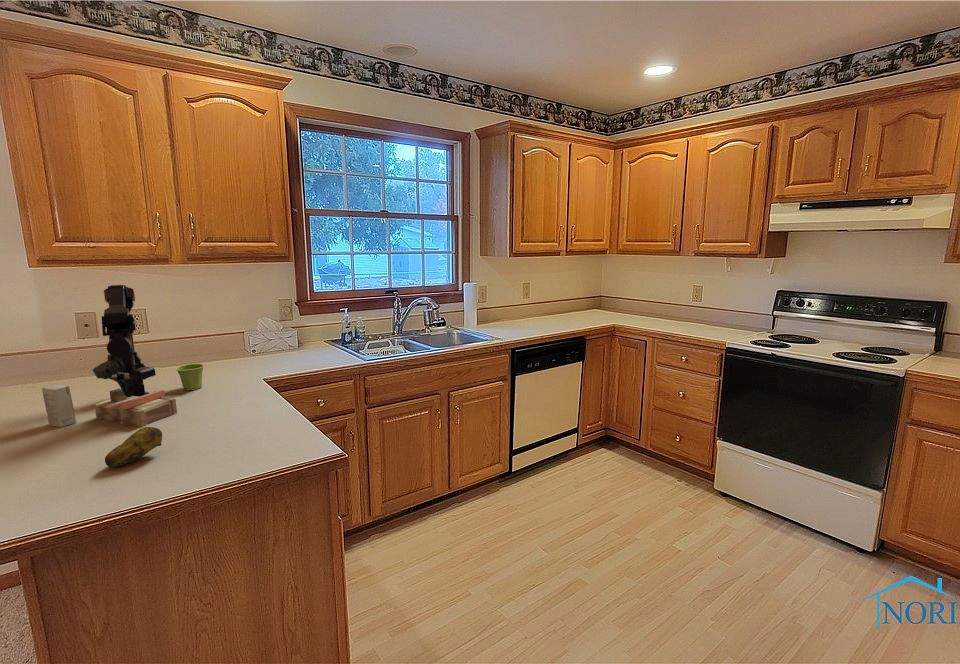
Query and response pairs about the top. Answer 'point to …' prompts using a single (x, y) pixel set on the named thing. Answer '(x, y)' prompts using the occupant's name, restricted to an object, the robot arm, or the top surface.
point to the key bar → (142, 399)
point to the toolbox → (137, 414)
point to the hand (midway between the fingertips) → (128, 396)
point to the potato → (134, 447)
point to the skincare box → (59, 405)
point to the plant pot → (191, 376)
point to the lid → (119, 396)
